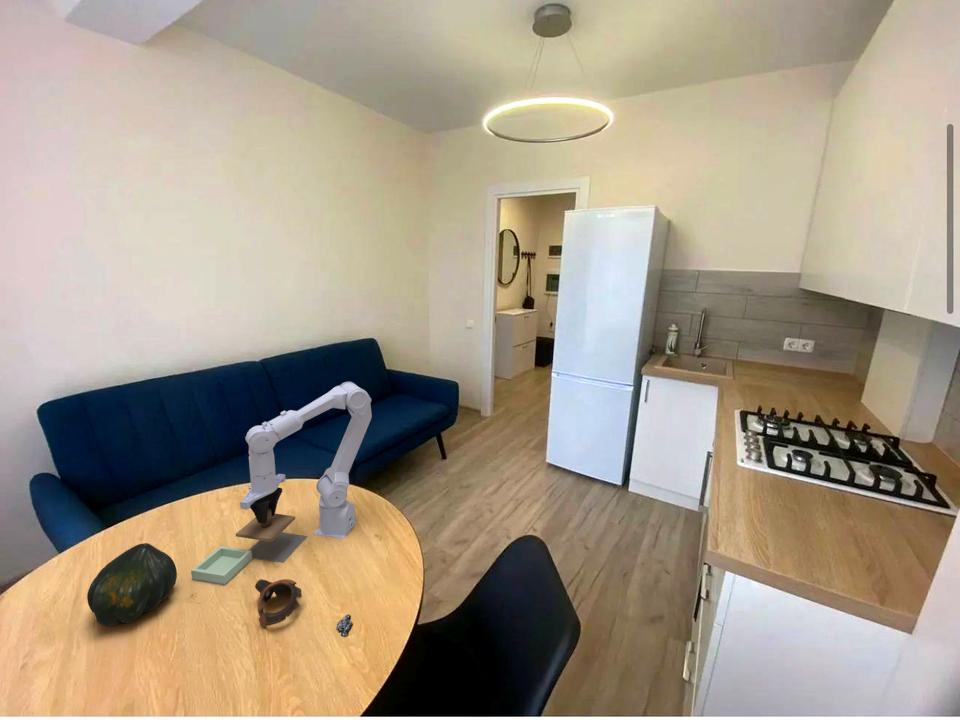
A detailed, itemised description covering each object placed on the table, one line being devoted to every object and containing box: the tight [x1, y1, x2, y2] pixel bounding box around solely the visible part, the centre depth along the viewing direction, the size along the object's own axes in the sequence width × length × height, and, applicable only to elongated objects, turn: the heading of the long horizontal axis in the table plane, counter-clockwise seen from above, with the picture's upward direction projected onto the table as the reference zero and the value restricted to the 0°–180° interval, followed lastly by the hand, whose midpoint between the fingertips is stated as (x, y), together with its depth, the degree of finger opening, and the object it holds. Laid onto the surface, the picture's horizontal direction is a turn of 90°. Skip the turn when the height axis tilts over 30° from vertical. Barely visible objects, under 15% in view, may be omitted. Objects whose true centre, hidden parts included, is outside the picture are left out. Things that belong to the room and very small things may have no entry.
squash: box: [86, 542, 178, 627], centre depth 86 cm, size 14×15×15 cm
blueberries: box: [335, 614, 362, 638], centre depth 84 cm, size 7×8×2 cm
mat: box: [248, 531, 309, 564], centre depth 108 cm, size 12×11×1 cm
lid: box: [235, 507, 296, 542], centre depth 104 cm, size 10×10×5 cm
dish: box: [190, 545, 253, 586], centre depth 98 cm, size 9×9×3 cm
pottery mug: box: [254, 578, 302, 628], centre depth 87 cm, size 12×10×8 cm
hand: (266, 518), depth 104 cm, fingers closed on lid, 3 cm apart
